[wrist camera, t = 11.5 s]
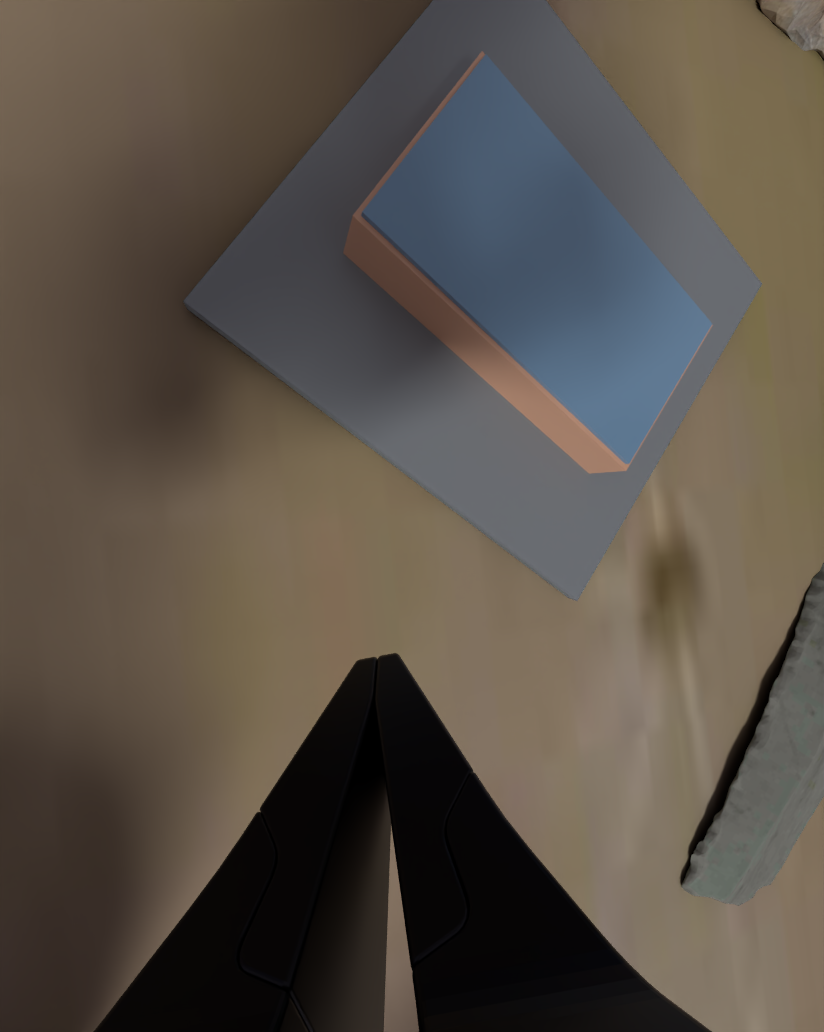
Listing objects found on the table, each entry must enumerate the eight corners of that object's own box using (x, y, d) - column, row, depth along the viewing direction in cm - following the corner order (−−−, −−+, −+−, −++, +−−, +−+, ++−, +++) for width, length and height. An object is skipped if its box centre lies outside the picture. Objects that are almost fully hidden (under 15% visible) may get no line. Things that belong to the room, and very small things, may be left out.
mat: (568, 598, 20) (577, 600, 20) (186, 308, 15) (183, 301, 14) (749, 289, 23) (762, 283, 22) (484, -52, 17) (491, -71, 17)
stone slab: (870, 611, 30) (823, 539, 26) (928, 625, 28) (886, 548, 24) (731, 900, 28) (655, 869, 24) (781, 944, 25) (706, 918, 21)
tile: (630, 470, 17) (717, 323, 18) (353, 211, 13) (484, 44, 14) (589, 473, 19) (668, 342, 21) (342, 253, 16) (456, 106, 17)
